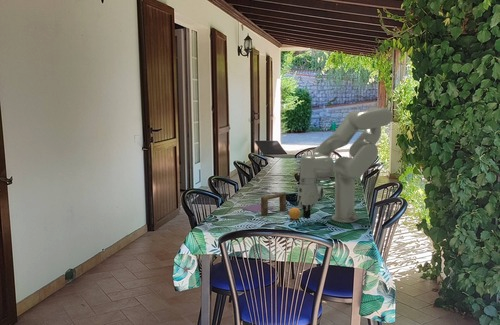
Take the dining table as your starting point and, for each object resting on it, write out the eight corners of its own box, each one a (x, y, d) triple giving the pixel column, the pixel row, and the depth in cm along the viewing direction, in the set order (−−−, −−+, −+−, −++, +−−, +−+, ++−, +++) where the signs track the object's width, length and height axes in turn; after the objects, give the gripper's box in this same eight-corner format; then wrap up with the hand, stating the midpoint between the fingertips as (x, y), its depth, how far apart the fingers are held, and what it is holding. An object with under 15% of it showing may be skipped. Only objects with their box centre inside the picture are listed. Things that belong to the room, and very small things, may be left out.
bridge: (286, 211, 242) (285, 193, 240) (264, 216, 233) (264, 198, 231) (282, 210, 244) (282, 192, 243) (261, 215, 235) (260, 197, 234)
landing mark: (273, 208, 248) (273, 208, 248) (255, 212, 240) (255, 212, 240) (258, 204, 258) (258, 203, 258) (240, 208, 250) (240, 207, 250)
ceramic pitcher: (337, 183, 317) (340, 148, 314) (309, 181, 318) (312, 147, 314) (332, 178, 339) (334, 145, 335) (306, 176, 339) (308, 143, 335)
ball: (303, 219, 226) (303, 207, 225) (294, 221, 222) (294, 209, 221) (294, 217, 230) (294, 205, 229) (286, 219, 227) (286, 207, 226)
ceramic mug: (310, 197, 274) (310, 184, 272) (323, 197, 271) (323, 185, 270) (306, 201, 264) (306, 188, 263) (319, 202, 261) (319, 189, 260)
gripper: (302, 183, 208) (301, 222, 211) (324, 180, 217) (322, 217, 220) (291, 181, 214) (290, 218, 216) (312, 178, 223) (311, 214, 226)
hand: (306, 217), depth 218 cm, fingers closed
